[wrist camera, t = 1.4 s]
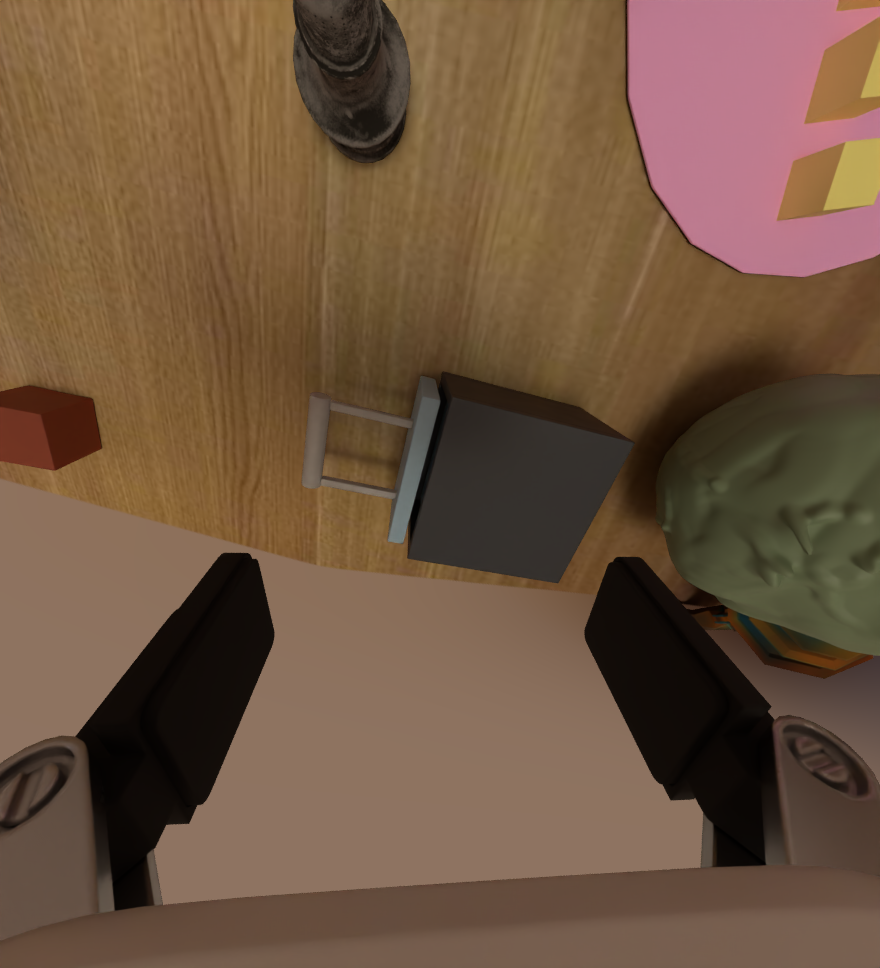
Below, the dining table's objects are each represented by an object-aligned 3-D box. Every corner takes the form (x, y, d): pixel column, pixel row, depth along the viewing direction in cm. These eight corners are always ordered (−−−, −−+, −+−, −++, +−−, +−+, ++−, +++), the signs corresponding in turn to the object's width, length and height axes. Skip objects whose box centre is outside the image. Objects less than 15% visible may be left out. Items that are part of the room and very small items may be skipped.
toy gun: (685, 559, 31) (913, 527, 26) (647, 579, 49) (777, 563, 45) (738, 705, 26) (1021, 698, 22) (675, 666, 45) (821, 658, 41)
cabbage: (585, 516, 36) (750, 725, 18) (690, 320, 28) (1177, 356, 10) (711, 542, 39) (961, 746, 21) (841, 371, 30) (1432, 469, 13)
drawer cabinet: (409, 500, 34) (407, 558, 26) (442, 371, 28) (452, 396, 21) (528, 524, 36) (558, 583, 29) (580, 407, 31) (635, 442, 23)
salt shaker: (343, -1, 19) (253, -378, 8) (430, 93, 21) (446, -118, 10) (294, 116, 21) (171, -70, 10) (377, 192, 23) (346, 101, 12)
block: (42, 437, 29) (-16, 458, 25) (28, 384, 27) (-37, 399, 23) (102, 448, 30) (55, 471, 26) (92, 398, 28) (40, 414, 24)
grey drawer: (313, 481, 31) (289, 524, 25) (328, 351, 26) (302, 366, 20) (507, 519, 35) (526, 565, 29) (552, 409, 30) (587, 437, 24)
